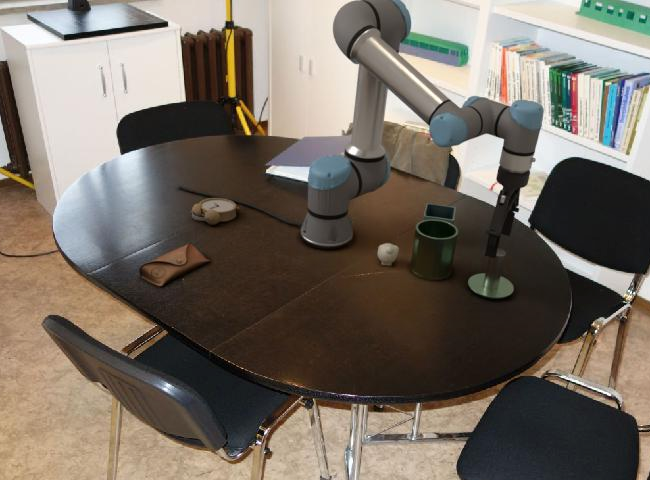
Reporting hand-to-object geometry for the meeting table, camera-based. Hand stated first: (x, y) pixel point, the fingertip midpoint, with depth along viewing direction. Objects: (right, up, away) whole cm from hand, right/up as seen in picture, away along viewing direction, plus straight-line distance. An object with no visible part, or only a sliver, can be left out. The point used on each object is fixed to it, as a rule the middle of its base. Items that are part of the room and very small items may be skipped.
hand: (497, 245), depth 176 cm
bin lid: (0, -10, +7) cm, 12 cm away
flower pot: (-12, +4, +29) cm, 32 cm away
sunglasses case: (-84, -6, +7) cm, 84 cm away
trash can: (-15, -6, +14) cm, 21 cm away
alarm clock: (-79, +11, +33) cm, 86 cm away
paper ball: (-27, -1, +14) cm, 31 cm away
